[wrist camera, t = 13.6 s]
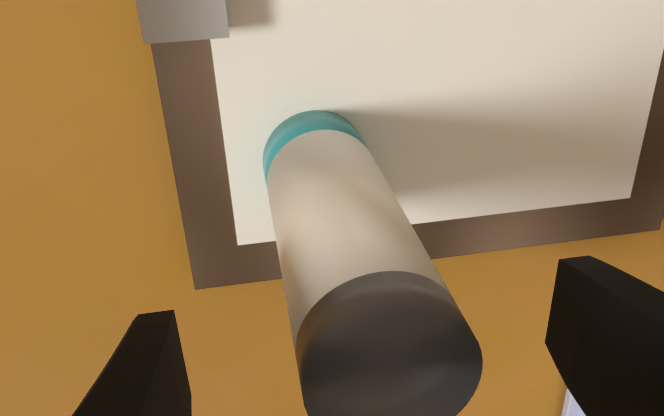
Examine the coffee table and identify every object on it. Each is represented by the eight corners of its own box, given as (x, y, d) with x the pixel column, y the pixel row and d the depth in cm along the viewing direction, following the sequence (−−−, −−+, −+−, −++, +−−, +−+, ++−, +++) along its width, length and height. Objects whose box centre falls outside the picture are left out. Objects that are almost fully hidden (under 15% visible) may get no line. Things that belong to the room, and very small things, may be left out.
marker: (364, 105, 17) (490, 296, 9) (365, 199, 19) (474, 432, 11) (258, 115, 17) (296, 322, 9) (267, 210, 18) (307, 460, 10)
